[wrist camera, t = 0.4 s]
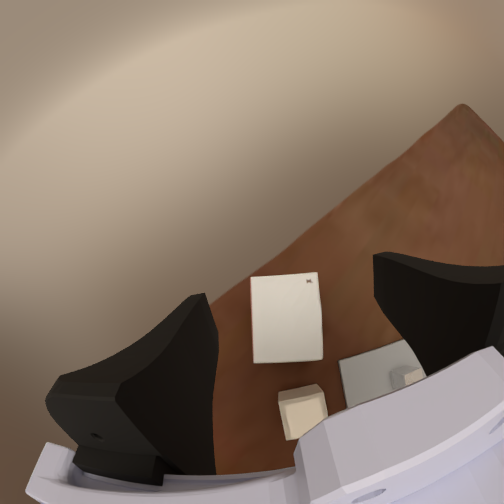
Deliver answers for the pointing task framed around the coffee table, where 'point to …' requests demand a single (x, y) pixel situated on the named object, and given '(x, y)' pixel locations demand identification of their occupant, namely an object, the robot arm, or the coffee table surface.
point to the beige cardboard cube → (301, 409)
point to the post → (405, 376)
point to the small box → (286, 318)
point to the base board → (374, 371)
